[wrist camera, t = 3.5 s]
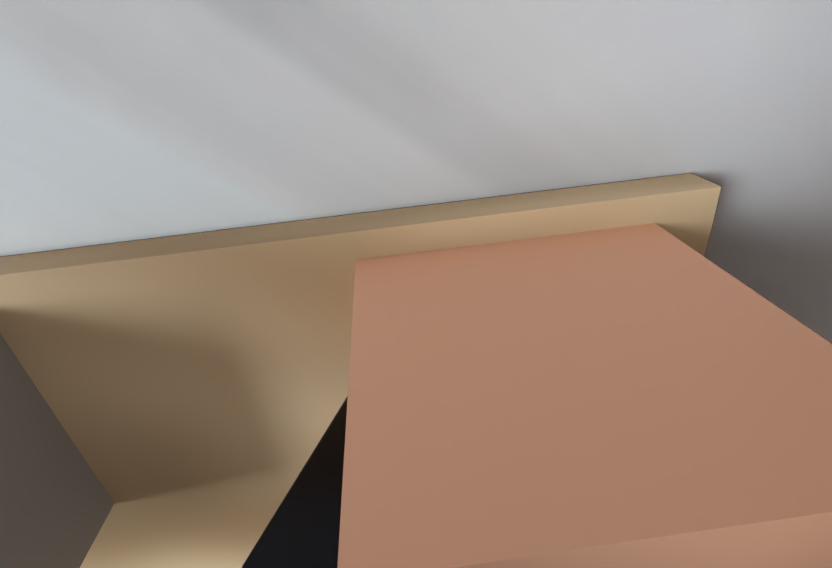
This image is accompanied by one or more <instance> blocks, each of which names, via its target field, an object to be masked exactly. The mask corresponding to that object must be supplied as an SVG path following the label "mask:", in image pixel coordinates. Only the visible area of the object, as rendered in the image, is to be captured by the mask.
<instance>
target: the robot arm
mask: <svg viewBox="0 0 832 568" xmlns="http://www.w3.org/2000/svg"><path fill="white" fill-rule="evenodd" d="M347 398H348V396H347V397H346V399H345V400H344V402H343V404H342V405H341V407H340V409H339V410H338V412H337V413H336V415H335V417H334V418H333V420H332V422H331V423H330V425H329V426H328V428H327V430H326V431H325V433H324V434H323V436H322V438H321V439H320V441H319V443H318V444H317V446H316V447H315V449H314V451H313V452H312V454H311V456H310V457H309V459H308V460H307V462H306V464H305V465H304V467H303V468H302V470H301V472H300V473H299V475H298V477H297V478H296V480H295V481H294V483H293V485H292V486H291V488H290V490H289V491H288V493H287V494H286V496H285V498H284V499H283V501H282V502H281V504H280V506H279V507H278V509H277V511H276V512H275V514H274V515H273V517H272V519H271V520H270V522H269V523H268V525H267V527H266V528H265V530H264V532H263V533H262V535H261V536H260V538H259V540H258V541H257V543H256V545H255V546H254V548H253V549H252V551H251V553H250V554H249V556H248V557H247V559H246V561H245V562H244V564H243V566H242V568H337V566H338V549H339V532H340V516H341V499H342V482H343V465H344V449H345V432H346V415H347Z"/></svg>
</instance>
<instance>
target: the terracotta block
mask: <svg viewBox="0 0 832 568" xmlns="http://www.w3.org/2000/svg"><path fill="white" fill-rule="evenodd" d="M337 568H832V344H831V343H830V342H829V341H827V340H826V339H824V338H823V337H821V336H820V335H818V334H817V333H815V332H814V331H812V330H811V329H809V328H808V327H807V326H805V325H804V324H802V323H801V322H799V321H798V320H796V319H795V318H793V317H792V316H790V315H789V314H787V313H786V312H785V311H783V310H782V309H780V308H779V307H777V306H776V305H774V304H773V303H771V302H770V301H768V300H767V299H765V298H764V297H763V296H761V295H760V294H758V293H757V292H755V291H754V290H752V289H751V288H749V287H748V286H746V285H745V284H743V283H742V282H741V281H739V280H738V279H736V278H735V277H733V276H732V275H730V274H729V273H727V272H726V271H724V270H723V269H721V268H720V267H718V266H717V265H716V264H714V263H713V262H711V261H710V260H708V259H707V258H705V257H704V256H702V255H701V254H699V253H698V252H696V251H695V250H694V249H692V248H691V247H689V246H688V245H686V244H685V243H683V242H682V241H680V240H679V239H677V238H676V237H674V236H673V235H672V234H670V233H669V232H667V231H666V230H664V229H663V228H661V227H660V226H658V225H657V224H655V223H652V224H644V225H636V226H628V227H620V228H612V229H604V230H596V231H588V232H580V233H572V234H564V235H556V236H548V237H540V238H532V239H524V240H516V241H508V242H500V243H492V244H484V245H476V246H468V247H460V248H452V249H444V250H436V251H428V252H420V253H412V254H404V255H396V256H388V257H380V258H372V259H364V260H356V264H355V281H354V298H353V314H352V331H351V348H350V365H349V382H348V398H347V415H346V432H345V449H344V465H343V482H342V499H341V516H340V532H339V549H338V566H337Z"/></svg>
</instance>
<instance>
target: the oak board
mask: <svg viewBox="0 0 832 568" xmlns="http://www.w3.org/2000/svg"><path fill="white" fill-rule="evenodd" d="M720 191H721V186H719V185H717V184H714V183H712V182H710V181H708V180H705V179H703V178H701V177H699V176H697V175H694V174H692V173H688V174H680V175H672V176H663V177H655V178H647V179H639V180H630V181H622V182H614V183H606V184H597V185H589V186H581V187H573V188H564V189H556V190H548V191H540V192H532V193H523V194H515V195H507V196H499V197H490V198H482V199H474V200H466V201H457V202H449V203H441V204H433V205H425V206H416V207H408V208H400V209H392V210H383V211H375V212H367V213H359V214H350V215H342V216H334V217H326V218H317V219H309V220H301V221H293V222H285V223H276V224H268V225H260V226H252V227H243V228H235V229H227V230H219V231H210V232H202V233H194V234H186V235H178V236H169V237H161V238H153V239H145V240H136V241H128V242H120V243H112V244H103V245H95V246H87V247H79V248H70V249H62V250H54V251H46V252H38V253H29V254H21V255H13V256H5V257H0V334H1V335H2V337H3V338H4V340H5V341H6V343H7V344H8V346H9V347H10V349H11V350H12V352H13V353H14V355H15V356H16V358H17V359H18V361H19V362H20V364H21V365H22V367H23V368H24V370H25V371H26V373H27V374H28V376H29V377H30V378H31V380H32V381H33V383H34V384H35V386H36V387H37V389H38V390H39V392H40V393H41V395H42V396H43V398H44V399H45V401H46V402H47V404H48V405H49V407H50V408H51V410H52V411H53V413H54V414H55V416H56V417H57V419H58V420H59V422H60V423H61V425H62V426H63V428H64V429H65V431H66V432H67V434H68V435H69V437H70V438H71V440H72V441H73V443H74V444H75V446H76V447H77V449H78V450H79V452H80V453H81V455H82V456H83V458H84V459H85V461H86V462H87V464H88V465H89V467H90V468H91V470H92V471H93V473H94V474H95V476H96V477H97V479H98V480H99V482H100V483H101V485H102V486H103V488H104V489H105V491H106V492H107V494H108V495H109V497H110V498H111V500H112V501H113V503H114V505H113V507H112V509H111V511H110V512H109V514H108V516H107V518H106V520H105V522H104V524H103V525H102V527H101V529H100V531H99V533H98V535H97V537H96V538H95V540H94V542H93V544H92V546H91V548H90V549H89V551H88V553H87V555H86V557H85V559H84V561H83V562H82V564H81V566H80V568H242V566H243V564H244V562H245V561H246V559H247V557H248V556H249V554H250V553H251V551H252V549H253V548H254V546H255V545H256V543H257V541H258V540H259V538H260V536H261V535H262V533H263V532H264V530H265V528H266V527H267V525H268V523H269V522H270V520H271V519H272V517H273V515H274V514H275V512H276V511H277V509H278V507H279V506H280V504H281V502H282V501H283V499H284V498H285V496H286V494H287V493H288V491H289V490H290V488H291V486H292V485H293V483H294V481H295V480H296V478H297V477H298V475H299V473H300V472H301V470H302V468H303V467H304V465H305V464H306V462H307V460H308V459H309V457H310V456H311V454H312V452H313V451H314V449H315V447H316V446H317V444H318V443H319V441H320V439H321V438H322V436H323V434H324V433H325V431H326V430H327V428H328V426H329V425H330V423H331V422H332V420H333V418H334V417H335V415H336V413H337V412H338V410H339V409H340V407H341V405H342V404H343V402H344V400H345V399H346V397H347V396H348V382H349V365H350V348H351V331H352V314H353V298H354V281H355V264H356V260H364V259H372V258H380V257H388V256H396V255H404V254H412V253H420V252H428V251H436V250H444V249H452V248H460V247H468V246H476V245H484V244H492V243H500V242H508V241H516V240H524V239H532V238H540V237H548V236H556V235H564V234H572V233H580V232H588V231H596V230H604V229H612V228H620V227H628V226H636V225H644V224H652V223H655V224H657V225H658V226H660V227H661V228H663V229H664V230H666V231H667V232H669V233H670V234H672V235H673V236H674V237H676V238H677V239H679V240H680V241H682V242H683V243H685V244H686V245H688V246H689V247H691V248H692V249H694V250H695V251H696V252H698V253H699V254H701V255H702V256H704V257H705V253H706V249H707V245H708V240H709V236H710V232H711V228H712V224H713V220H714V216H715V211H716V207H717V203H718V199H719V195H720Z"/></svg>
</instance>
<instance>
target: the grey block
mask: <svg viewBox="0 0 832 568" xmlns="http://www.w3.org/2000/svg"><path fill="white" fill-rule="evenodd" d="M113 505H114V503H113V501H112V500H111V498H110V497H109V495H108V494H107V492H106V491H105V489H104V488H103V486H102V485H101V483H100V482H99V480H98V479H97V477H96V476H95V474H94V473H93V471H92V470H91V468H90V467H89V465H88V464H87V462H86V461H85V459H84V458H83V456H82V455H81V453H80V452H79V450H78V449H77V447H76V446H75V444H74V443H73V441H72V440H71V438H70V437H69V435H68V434H67V432H66V431H65V429H64V428H63V426H62V425H61V423H60V422H59V420H58V419H57V417H56V416H55V414H54V413H53V411H52V410H51V408H50V407H49V405H48V404H47V402H46V401H45V399H44V398H43V396H42V395H41V393H40V392H39V390H38V389H37V387H36V386H35V384H34V383H33V381H32V380H31V378H30V377H29V376H28V374H27V373H26V371H25V370H24V368H23V367H22V365H21V364H20V362H19V361H18V359H17V358H16V356H15V355H14V353H13V352H12V350H11V349H10V347H9V346H8V344H7V343H6V341H5V340H4V338H3V337H2V335H1V334H0V568H80V566H81V564H82V562H83V561H84V559H85V557H86V555H87V553H88V551H89V549H90V548H91V546H92V544H93V542H94V540H95V538H96V537H97V535H98V533H99V531H100V529H101V527H102V525H103V524H104V522H105V520H106V518H107V516H108V514H109V512H110V511H111V509H112V507H113Z"/></svg>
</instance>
